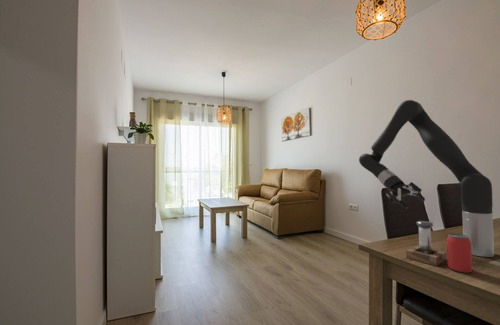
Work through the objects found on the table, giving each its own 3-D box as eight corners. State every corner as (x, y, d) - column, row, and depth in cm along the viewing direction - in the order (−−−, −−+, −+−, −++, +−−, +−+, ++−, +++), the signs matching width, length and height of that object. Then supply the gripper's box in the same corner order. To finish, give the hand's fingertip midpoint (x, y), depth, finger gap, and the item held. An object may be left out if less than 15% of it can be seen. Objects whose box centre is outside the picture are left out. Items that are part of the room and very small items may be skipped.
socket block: (417, 252, 102) (417, 245, 102) (446, 259, 94) (446, 252, 94) (406, 257, 96) (406, 250, 97) (436, 265, 88) (435, 257, 88)
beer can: (463, 274, 81) (462, 239, 81) (443, 267, 87) (441, 233, 87) (477, 272, 82) (475, 237, 83) (456, 264, 89) (455, 232, 89)
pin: (421, 255, 99) (419, 220, 99) (436, 259, 94) (434, 222, 95) (415, 258, 96) (414, 222, 96) (430, 262, 92) (429, 224, 92)
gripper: (378, 180, 117) (403, 205, 105) (404, 170, 118) (431, 193, 106) (376, 190, 122) (399, 214, 110) (401, 180, 123) (427, 203, 111)
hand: (415, 204), depth 108 cm, fingers open, 8 cm apart
